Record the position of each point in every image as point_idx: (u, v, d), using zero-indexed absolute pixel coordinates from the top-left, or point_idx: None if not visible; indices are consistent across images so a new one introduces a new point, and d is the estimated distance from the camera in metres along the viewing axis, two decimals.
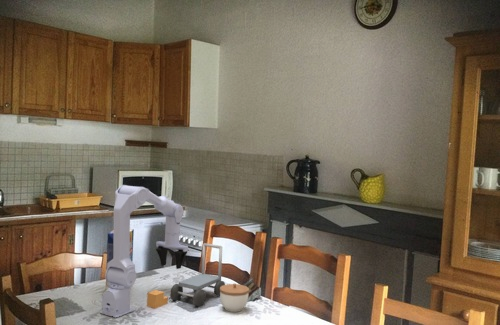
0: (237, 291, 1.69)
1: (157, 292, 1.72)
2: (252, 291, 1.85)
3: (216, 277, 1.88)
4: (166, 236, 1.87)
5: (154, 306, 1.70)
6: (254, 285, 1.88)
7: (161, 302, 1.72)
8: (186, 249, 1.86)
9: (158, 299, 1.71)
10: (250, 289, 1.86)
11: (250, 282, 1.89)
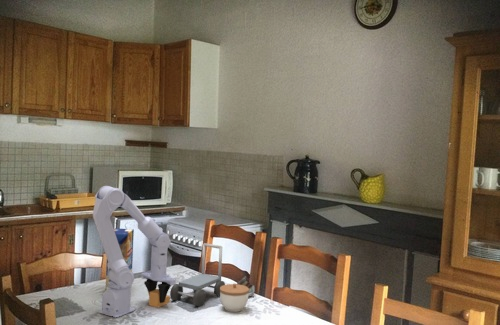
0: (237, 291, 1.69)
1: None
2: None
3: (216, 277, 1.88)
4: (152, 268, 1.71)
5: (156, 305, 1.71)
6: (248, 283, 1.90)
7: None
8: (173, 282, 1.70)
9: None
10: None
11: (244, 280, 1.91)
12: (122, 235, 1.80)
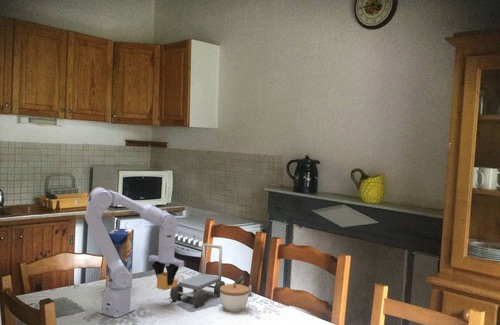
0: (237, 291, 1.69)
1: None
2: None
3: (216, 277, 1.88)
4: (160, 250, 1.70)
5: (164, 287, 1.69)
6: (245, 282, 1.91)
7: None
8: (182, 264, 1.68)
9: None
10: None
11: (241, 279, 1.92)
12: (122, 235, 1.80)
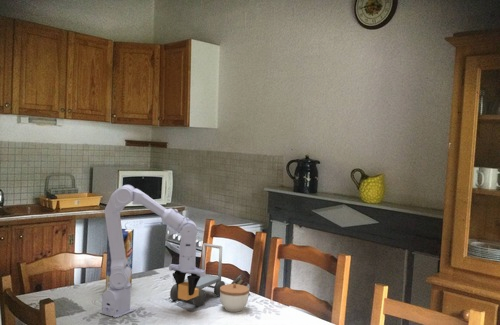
0: (237, 291, 1.69)
1: (188, 284, 1.67)
2: None
3: (216, 277, 1.88)
4: (181, 259, 1.65)
5: (186, 297, 1.65)
6: (243, 282, 1.91)
7: None
8: (203, 274, 1.64)
9: None
10: None
11: (239, 279, 1.92)
12: None
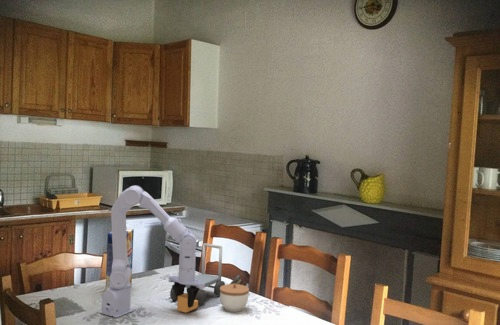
0: (237, 291, 1.69)
1: (187, 296, 1.67)
2: None
3: (216, 277, 1.88)
4: (180, 271, 1.65)
5: (185, 310, 1.65)
6: (241, 281, 1.92)
7: None
8: (203, 286, 1.64)
9: None
10: None
11: (237, 278, 1.93)
12: None
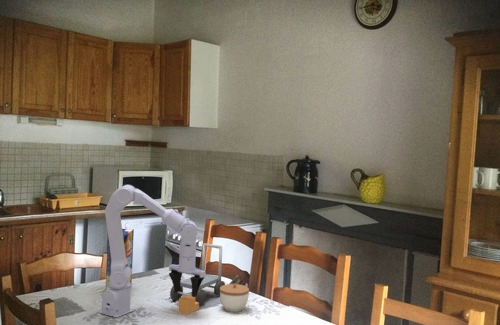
0: (237, 291, 1.69)
1: (188, 298, 1.68)
2: None
3: (216, 277, 1.88)
4: (181, 259, 1.65)
5: (186, 312, 1.65)
6: (241, 281, 1.92)
7: (192, 308, 1.68)
8: (203, 274, 1.64)
9: (190, 305, 1.66)
10: None
11: (236, 278, 1.93)
12: None
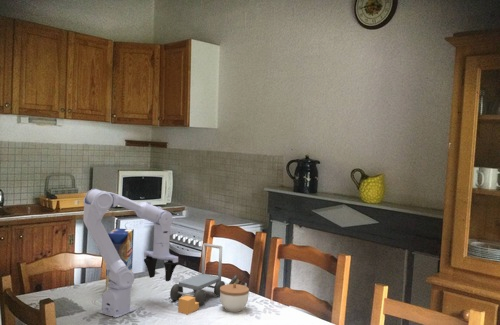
0: (237, 291, 1.69)
1: (188, 298, 1.68)
2: None
3: (216, 277, 1.88)
4: (154, 246, 1.72)
5: (186, 312, 1.65)
6: (240, 281, 1.92)
7: (192, 307, 1.68)
8: (176, 260, 1.70)
9: (190, 305, 1.67)
10: None
11: (235, 278, 1.93)
12: (122, 235, 1.80)
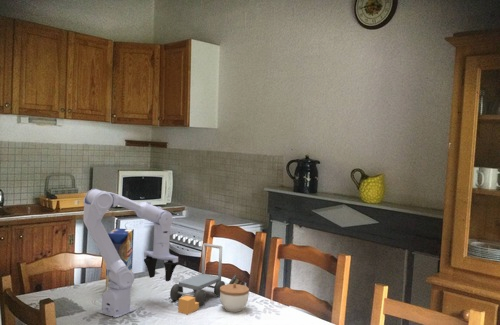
0: (237, 291, 1.69)
1: (188, 298, 1.68)
2: None
3: (216, 277, 1.88)
4: (154, 246, 1.72)
5: (186, 312, 1.65)
6: (239, 281, 1.93)
7: (192, 307, 1.68)
8: (176, 260, 1.70)
9: (190, 305, 1.67)
10: None
11: (235, 278, 1.93)
12: (122, 235, 1.80)
